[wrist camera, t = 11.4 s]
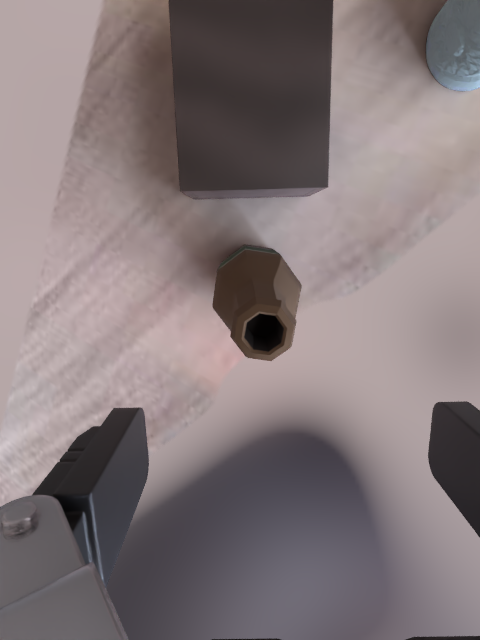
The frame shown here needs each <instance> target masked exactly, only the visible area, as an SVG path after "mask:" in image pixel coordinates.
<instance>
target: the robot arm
mask: <svg viewBox="0 0 480 640" xmlns="http://www.w3.org/2000/svg"><path fill="white" fill-rule="evenodd" d="M428 458H429V464H430V469H431V472H432V474H433V476H434V478H435V479H436V480H437V482H438V483H439V484H440V485H441V487H442V488H443V490H444V491H445V492H446V493H447V495H448V496H449V497H450V499H451V500H452V501H453V503H454V504H455V505H456V507H457V508H458V509H459V511H460V512H461V513H462V514H463V516H464V517H465V519H466V520H467V521H468V523H469V524H470V525H471V526H472V528H473V529H474V530H475V532H476V533H477V534H478V536H479V537H480V411H479V410H478V409H477V408H476V407H474V406H473V405H472V404H471V403H469V402H438V403H436V404H435V406H434V408H433V413H432V423H431V433H430V442H429V452H428ZM148 462H149V458H148V447H147V437H146V426H145V416H144V411H143V409H142V408H114V409H113V410H112V411H111V413H110V414H109V415H108V417H107V418H106V420H105V421H104V422H103V424H102V425H101V426H94V427H92V428H90V429H89V430H87V431H86V432H84V433H83V434H81V435H80V436H78V437H77V438H76V440H75V441H74V442H73V444H72V445H71V446H70V447H69V449H68V452H65V454H64V455H63V456H62V458H61V459H60V462H58V463H57V464H56V465H55V466H54V468H53V469H52V470H51V472H50V473H49V474H48V475H47V477H46V478H45V479H44V481H43V482H42V483H41V484H40V486H39V487H38V488H37V489H36V491H35V492H34V493H33V495H32V496H26V497H22V498H19V499H16V500H14V501H11V502H9V503H7V504H5V505H3V506H1V507H0V640H128V637H127V635H126V633H125V630H124V628H123V626H122V624H121V621H120V619H119V617H118V615H117V612H116V610H115V608H114V606H113V604H112V601H111V599H110V597H109V595H108V592H107V590H106V586H107V584H108V581H109V578H110V576H111V573H112V570H113V568H114V565H115V563H116V560H117V557H118V555H119V552H120V549H121V547H122V544H123V541H124V539H125V536H126V533H127V531H128V528H129V526H130V523H131V520H132V518H133V515H134V512H135V510H136V507H137V504H138V502H139V499H140V497H141V494H142V491H143V489H144V486H145V483H146V480H147V475H148V466H149V463H148ZM212 640H280V639H212ZM406 640H480V636H461V637H460V636H457V637H456V636H454V637H412V638H409V639H406Z"/></svg>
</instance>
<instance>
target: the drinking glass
mask: <svg viewBox="0 0 480 640" xmlns="http://www.w3.org/2000/svg"><path fill="white" fill-rule="evenodd" d="M426 54H427V55H426V59H427V64H428V67H429V69H430V71H431V73H432V75H433V76H434V77H435V79H436V80H437V81H438V82H439V83H440V84H441V85H443V86H445V87H447V88H449V89H452V90H457V91H469V90H474V89H477V88H480V0H448V1H447V2H446V3H445V5H444V6H443V7H442V9H441V10H440V11H439V13H438V14H437V15H436V17H435V19H434V20H433V22H432V24H431V27H430V29H429V33H428V37H427V43H426Z"/></svg>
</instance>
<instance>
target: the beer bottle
mask: <svg viewBox="0 0 480 640" xmlns="http://www.w3.org/2000/svg"><path fill="white" fill-rule="evenodd" d="M300 291H301V284H300V282H299V280H298V279H297V278H296V276H295V275H294V273H293V272H292V271H291V269H290V268H289V266H288V265H287V263H286V262H285V261H284V259H283V258H282V256H281V255H280V254H279V253H277V252H276V251H275V250H273V249H271V248H264V247H258V246H251V245H243V246H242V247H241V248H239V249H238V250H237V251H235V252H234V253H233V254H231V255H230V256H229V257H227V258H226V259H225V260H223V261H222V263H221V265H220V266H219V268H218V270H217V276H216V283H215V291H214V298H213V309H214V310H215V311H216V313H217V314H218V315H219V316H220V318H221V319H222V320H223V322H224V323H225V324H226V326H227V327H228V328H229V329H230V331H231V336H230V337H231V338H232V339H233V341H234V342H235V343H236V344H237V346H238V347H239V348H240V350H241V351H242V352H243V353H244V355H245V356H246V357H248V358H253V359H261V360H267V361H272V360H273V359H275V358H276V357H278V356H279V355H280V354H282V353H283V352H285V351H286V350H288V349H289V348H290V347H291V346H292V342H293V336H294V330H295V326H296V320H295V318H296V312H297V307H298V302H299V296H300Z"/></svg>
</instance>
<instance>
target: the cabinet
mask: <svg viewBox="0 0 480 640" xmlns="http://www.w3.org/2000/svg"><path fill="white" fill-rule="evenodd" d="M169 13H170V30H171V47H172V64H173V81H174V98H175V115H176V132H177V148H178V165H179V182H180V192H182V193H184V194H186V195H188V196H189V197H191V198H193V199H224V198H261V197H298V196H310V195H312V194H314V193H317V192H319V191H321V190H323V189H325V188H327V187H328V168H329V132H330V96H331V60H332V24H333V0H169Z"/></svg>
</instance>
